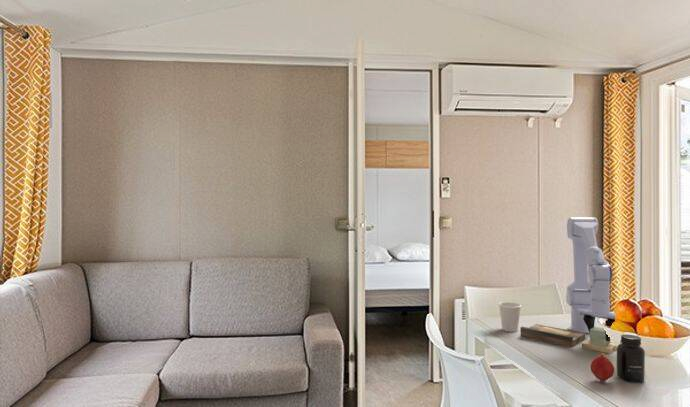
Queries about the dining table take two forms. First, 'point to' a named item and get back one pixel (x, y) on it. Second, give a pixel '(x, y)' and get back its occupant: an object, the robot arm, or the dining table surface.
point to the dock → (552, 335)
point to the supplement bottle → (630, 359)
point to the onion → (602, 368)
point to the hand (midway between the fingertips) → (600, 339)
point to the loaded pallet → (598, 348)
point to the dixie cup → (510, 316)
